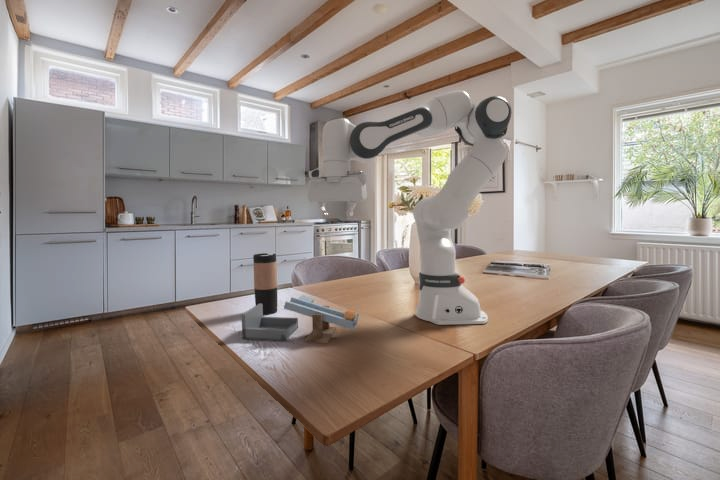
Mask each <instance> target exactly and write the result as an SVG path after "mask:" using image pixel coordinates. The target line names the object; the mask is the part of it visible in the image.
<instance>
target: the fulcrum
mask: <svg viewBox="0 0 720 480" xmlns="http://www.w3.org/2000/svg"><path fill="white" fill-rule="evenodd" d="M323 306H324V307H327V308H330V306H329V305H323ZM311 318H312V319H311V320H312V321H311V322H312V324H311V325H312V331H311V332H310V333H309V334H308V335H307V337H305V343H314V344H315V343H316V344H317V343H318V344H328V343H329V341H330V340H331V339H332V337H333V336H334V334H335V332H336V331H337V327H336V326H330V324H331V323H329V322H326V321H323V320H322V314H313V315H312V317H311Z"/></svg>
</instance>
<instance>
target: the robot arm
mask: <svg viewBox="0 0 720 480" xmlns="http://www.w3.org/2000/svg"><path fill="white" fill-rule="evenodd" d="M469 95H470V94H468V93H467V92H466V91H465V90H461V89H459V90H452V91H448V92H444V93H441V94H438V95H435V96H433V97H430V98H429V99H427V100H424V101H422V102H421V103H420V104H418V105H416V106H415V107H414V108H412V109H411V110H409V111H407V112H405V113H402V114H400V115H397V116H395V117H391V118H390V119H387V120H385V121H364V122H361V123H358V125H355V124H353V123H352V122H351V121H349V119H347V118H344V117H336V118H332V119H330V120H328V121H326V123H325V124H324V125H323V129H322V135H321V136H322V139H321V141H322V142H321V148H322V152H323V158H322V165H321V166H319V167H316V168H315V169H312V170H310V171H309V173H308V177H309V182H308V185H307V199H308V201H309V202H311V203H317V206H318V208H319V209H320V213H321V217H327V216H329V211H328V210H326V208H325V206H326V203H330V202H348V205H349V208H348V210H346V211H345V212H346V213H345V215H346V217H353V216H354V210H355V208H356V206H357V202H365V201H366V200H367V199H368V194H367V193H368V192H367V185H366V184H367V183H366V182H367V175H366V173H364V171H362V170H353V171H352V170H351V161H353V162H358V163H362V164H363V163H369V162H371V161H372V160H374V159H375V158H376V157H377V156H378V155H379V154H380V153H382V152H383V150H384V149H386V147H387V146H388V145H390V144H391V143H394V142H397V141H398V140H401V139H404V138H405V137H409V136H411V135H416V134H417V135H418V136H420V137H423V138H426V137H432V136H435V135H438V134H441V133H443V132H446V131H447V130H450V129H453V128H454V131H455V132H456V133H457V134H458V136H459V139H460V140H461V142H462V143H464V144H465V145H467V146H468V147H469V146H470V147H471V148H470V150H469V152H467V154H465V156H464V157H463V158H462V159H461V160H460V162H459V163H457V165H456V166H455V167H454V168H453V170H452V171H451V172H450V173H449V174H448V176H447V179H446V181H445V183H444V185H443V186H442V188H441V190H440V191H439V192H438V193H436V194H435V195H431V196H426V197H423V198H422V199H420V200H419V201H418V202H417V203H416V204H415V206H414V207H413V212H412V215H413V216H412V217H413V219H414V221H415V224H416V231H417V235H418V242H419V248H420V250H419V253H420V272H419V273H418V288H419V289H418V290H419V294H418V302H417V307H416V311H415V314H414V315H415V317H417V318H418V319H421V320H423V321H427V322H430V323H432V324H435V325H439V326H441V325H444V326H445V325H446V326H449V325H480V324H482V325H484V324H486V323H487V322H489V317H488V314H487V312H485V311H483V310H482V309H481V305H480V301H479V298H477V296H476V295H475V294H474V293H472V292H471V291H470V290H468V289H467V288H466V287H465V286H464V285H462V284H465V282H466V278H464V276H463V275H460V274H459V273H457V272H456V270H457V269H456V266H457V264H456V263H457V262H456V261H457V260H456V259H457V257H456V255H457V254H456V253H457V251H456V247H455V245H454V243H453V240H452V236H451V231H454V230H457V229H460V228H461V227H462V226H464V224H465V223H466V221H467V220H468V218H469V217H468V216H469V210H470V208H471V206H472V204H473V202H474V201H475V199H476V198H477V196H478V195H479V193H481V191H482V190H483V189H484V188H485V187H486V186H487V184H488V183H489V182H490V181H491V180H492V178H493V177H494V176H495V175H496V174H497V172H498V171H499V170H500V168H501V167H502V165H503V164H504V162H505V160H506V158H507V155H508V148H507V146H506V144H505V143H504V142H503V141H502V139H501V138H503V137H504V136H505V135H506V134H507V132H508V127H509V124H510V121H511V117H512V106H511V105H510V102H509V101H508V100H507V99H506V98H505V97H502V96H499V95H494V96H493V95H492V96H489V97H487V98H484V99H483V100H480V102H479V103H478V104H477V105H476V104H475V103H473V101H472V99H471V97H470V96H469Z"/></svg>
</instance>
